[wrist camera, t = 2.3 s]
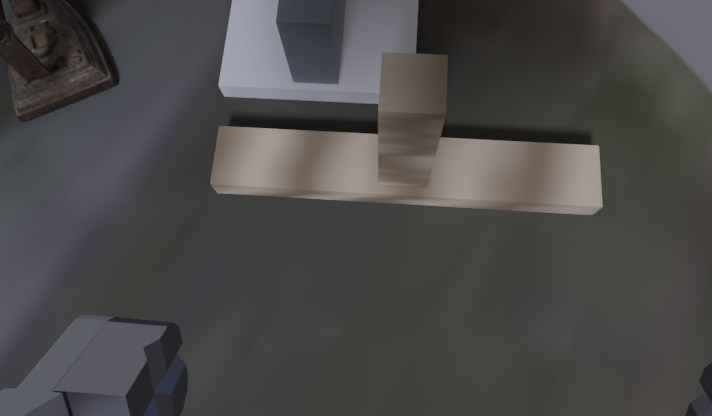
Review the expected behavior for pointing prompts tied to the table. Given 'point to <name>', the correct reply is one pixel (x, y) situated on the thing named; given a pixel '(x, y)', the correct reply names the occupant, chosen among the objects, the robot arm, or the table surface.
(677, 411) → the table surface
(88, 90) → the clothes iron
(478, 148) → the balance beam
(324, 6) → the ridge stand
